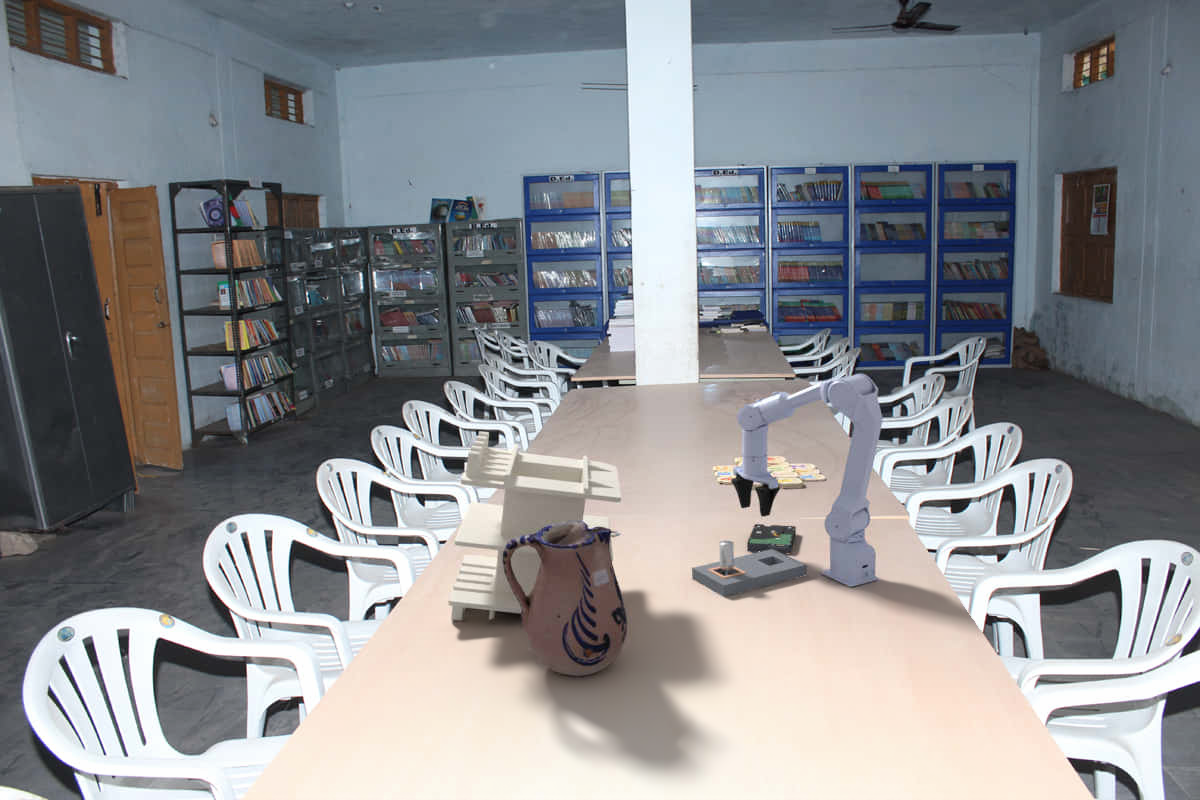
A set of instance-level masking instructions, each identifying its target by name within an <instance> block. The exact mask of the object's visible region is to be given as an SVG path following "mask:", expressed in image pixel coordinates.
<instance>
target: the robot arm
mask: <svg viewBox="0 0 1200 800" xmlns="http://www.w3.org/2000/svg"><path fill="white" fill-rule="evenodd" d="M878 394H879V387H878V386H877V385H876V383H875V382H874V381H873V380H872V379H871V377H869V376H868V375H866V374H864V373H855V374H853V375H852V376H851V375H850V376H849V375H848V376H842V377H839V378H838V377H837V378H833V379H829V380H825V381H822V382H819V383H816V384H814V385H811V386H810V387H809V386H808V387H807V388H804V389H802V390H800V391H798V392H795V393H793V394H791V393H788V392H787V391H780V390H777V391H774V392H772V393H771V396H768V397H766V398H762V397H761V398H757V399H755V402H754V403H750V404H745V405H743V406H742V407H740V408H739V409H738V411H737V413H736V414H737V415H736V419H737V423H738V425H739V426H740V428H741V438H742V439H741V440H742V441H741V442H742V443H741V448H742V449H741V451H742V452H741V453H742V454H741V456H742V467H741V466H737V467H733V475H735V476H736V478H733V479H731V482H732V483H733V484H732V485H733V487H734V489H735V491H736V493H737V497H738V502H739V505H740V508H741V509H746V508H750V507H751V502H752V501H751V500H752V491H753V489H752V486H753V483H754V481H755V482H757V483H760V484H763V486H760V487H755V490H754V491H755V492H756V494H757V498H758V502H759V503H758V504H759V513H760V516H761V517H767V516H770V515H771V513H772V512H771V511H772V508H773V505H774V504H773V503H774V501H775V499H776V496H777V495H778V493H779V491H780V490H781V488H780V487H779V486H778V479H776V478H774V477H773V476H771V475H770V474H771V471H768V470H767V457H768V432H769V426H770V425H771V424H773V423H776V422H779V421H783V420H784V419H788V418H790V417H793V416H794V414H795V413H796V410H797V408H801V407H803V406H806V405H809V404H812V403H815V402H818V401H823V402H824V404H830V405H832V406H833V407H834V409H836V410H837V411H839V412H840V413H841V414H842V415H844V416H845V417H846V418H847V419H848V420H849V421H850V422H851V423H852V424H853V426H854V427H853V431H852V436H851V439H850V444H849V450H848V454H847V459H846V463H845V468H844V473H843V476H842V477H843V478H842V481H841V487H840V491H839V494H838V496H837V497H836V498H835V500H834V501H833V503H832V506H831V510H830V512H829V513H828V514H827V515H826V517H825V519H824V530H825V532H826V533H827V535H828V536H829V540H830V541H829V543H830V544H829V569H826V570H825V569H824V570H821V573H820V574H822V575H823V576H826V577H828V578H830V579H832V580H835V581H836V582H839V583H841V584H843V585H846V586H848V587H849V588H850V587H852V588H853V587H856V586H860V585H864V584H868V583H870V582H873V581H874V582H875V581H878V580H879V577H878V576H876V563H877V561H876V557H877V556H876V550H875V548H874V547H873V546H872V545H871V544H870V543H869V542H868V541H867V540H866V538H865V535H866V533H865V532H866V530H865V529H867V528H868V527H869V525H870V523H871V514H870V503H871V502H870V500H868V498H867V492H868V487H869V484H870V479H871V474H872V470H873V465H874V461H875V457H876V454H877V453H876V452H877V448H878V443H879V439H880V435H881V429H882V425H883V414H882V411H881V407H880V402H879V400H878Z"/></svg>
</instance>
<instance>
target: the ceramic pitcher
mask: <svg viewBox="0 0 1200 800" xmlns="http://www.w3.org/2000/svg"><path fill="white" fill-rule="evenodd" d="M612 531H613V530H611V528H610V529H609V528H605V527H594V528H592V529H588V525H587V524H586V523H585V522H583V521H573V520H572V521H566V522H562V523H556V524H550V525H548V526H545V527H543V528H541V529H540V530H539V531H538V532H537V533H535V534H531V535H528V534H526V535H520V536H517V537H515V538H514V539H512V540H510V541H509V542H508V543H507V545H506V547H505V549H504V551H503V555H502V557H503V568H504V572H505V575H506V578H507V580H508V582H509V584H510V586H511V589H512V591H513V592H514V595H515V596H516V598H517V600H518V602H519V604H520V606H521V613H520V615H521V616H520V621H521V624H522V626H523V628H524V629H525V631H526V632H527V636H528V637H527V638H528V640H529V643H530V646H531V648H532V650H533V652H534V654H535V656H536V657H537V658H538V660H539V661H540V662H541V663H542V664H543V665H544V666H545V667H547V668H548V669H550V670H552V672H553V671H554V672H557V673H558V674H562V675H565V676H566V675H567V676H573V677H575V676H576V677H582V676H589V675H592V674H596V673H597V672H600V671H602V670H603V669H605V668H606V667H607V666H609V665H610V664H611V663H612V662H613V661H615V660H616V658H617V656H618V655H619V653H620V652H621V650H622V649H623V646H624V644H625V641H626V638H627V631H628V622H627V621H628V619H627V612H626V607H625V603H624V599H623V596H622V595H623V594H622V592H621V588H620V585H619V582H618V580H617V576H616V572H615V568H614V565H613V561H611V554H610V546H609V544H610V535H612V533H613V532H612ZM527 545H529V546H531V547H533V548H535V549H536V551H537V552H538V554H539V557H540V558H541V564H540V567H539V571H538V574H537V577H536V581H535V584H534V587H533V589H532V591H531V593H530V594H529V596H526V595H525V593H524V591H523V589H522V587H521V585H520V584H519V582H518V581H517V579H516V577H515V574H514V572H513V570H512V566H511V557H512V554H513V553H514V551H515V550H516V549H518V548H520V547H522V546H527Z"/></svg>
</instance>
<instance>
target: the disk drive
mask: <svg viewBox="0 0 1200 800" xmlns="http://www.w3.org/2000/svg"><path fill="white" fill-rule="evenodd" d="M796 527H797V526H795V525H780V524H772V525H765V524H761V523H760V524H759V523H755V524H754V525H753V528H752V530H751V532H750V535H749V538H748V540H747V543H746V544H747V546H746V547H747V549H746V550H747V552H748V551H760V552H762V551H766V550H770V549H773V550H776V551H778V552H780V553H790V554H791V552H792V551H791V550H793V545H794V542H795V539H794V538H796V535H797V532H796V531H797V530H796ZM795 534H796V535H795Z"/></svg>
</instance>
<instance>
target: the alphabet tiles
mask: <svg viewBox="0 0 1200 800" xmlns="http://www.w3.org/2000/svg"><path fill="white" fill-rule="evenodd" d="M735 464H736V465H737V466H736V465H735ZM738 466H741V467H742V457H736V458H734V465H732V464H731V465H715V466H713V467H712V469H713V470H712V472H713V471H714V472H713V473H714V477H715V479H716V481H718V482H717V483H718V484H719V483H722V484H721V485H723V484H728V485H733V483H732V482H731V479H733V478H736V476H735V475H733V467H738ZM816 468H817V467H816V466H815V465H814V464H813V463H789V462H788V461H787V459H786V457H785V456H780V455H779V456H776V455H775V456H767V470H768V471H771V474H770V475H771V476H773V477H774V478H776V479H778V486H779V487H780V489H781V488H782V489H781V490H784V489H783V488H791V489H801V488H803V487H804V485H803V484H804V483H803V482H805V483H809V482H823V481H824V482H825V481H826V477H825V476H824V474H821V471H820V470H819V469H818V468H817V469H816ZM760 486H763V484H760V483H757V482H755V481H754V483H753V486H752V490H753V489H755V487H760Z"/></svg>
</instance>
